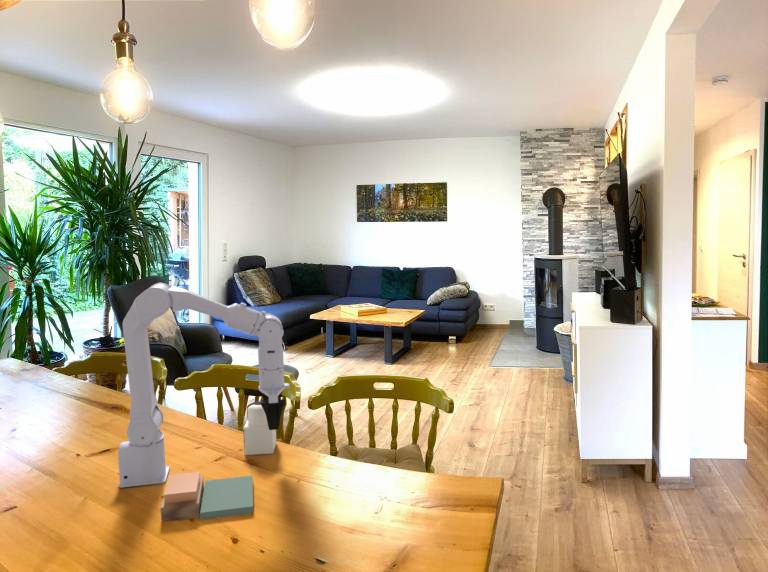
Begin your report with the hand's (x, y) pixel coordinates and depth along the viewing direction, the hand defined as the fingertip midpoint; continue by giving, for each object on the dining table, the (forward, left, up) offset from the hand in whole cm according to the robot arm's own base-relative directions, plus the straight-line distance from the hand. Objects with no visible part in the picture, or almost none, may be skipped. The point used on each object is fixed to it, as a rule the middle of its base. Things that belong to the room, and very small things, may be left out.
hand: (273, 423), depth 134 cm
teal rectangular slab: (-10, -15, -10) cm, 21 cm away
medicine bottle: (-3, +10, -10) cm, 15 cm away
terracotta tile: (-19, -15, -7) cm, 25 cm away
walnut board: (-19, -15, -10) cm, 26 cm away
